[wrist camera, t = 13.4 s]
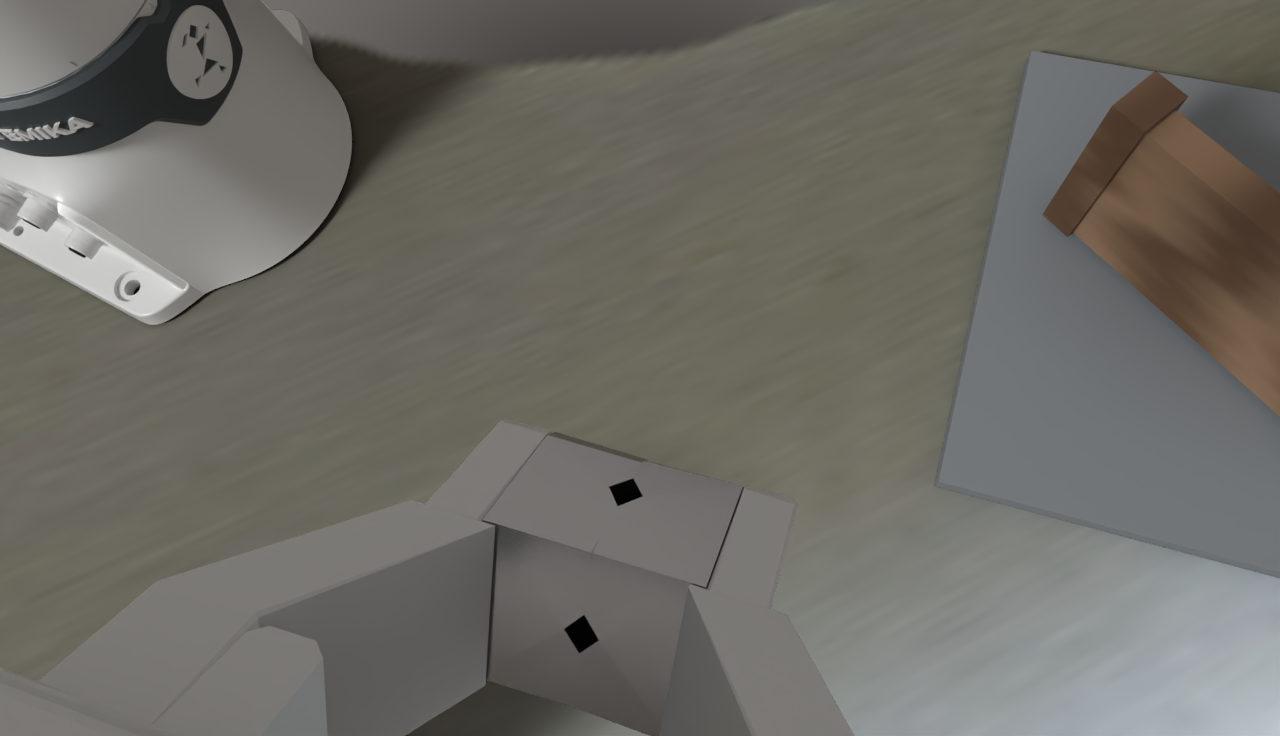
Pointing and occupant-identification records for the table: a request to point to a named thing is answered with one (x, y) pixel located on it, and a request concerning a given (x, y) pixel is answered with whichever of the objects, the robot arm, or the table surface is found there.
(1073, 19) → the table surface
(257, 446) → the table surface
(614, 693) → the robot arm
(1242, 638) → the table surface
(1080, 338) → the grey plate
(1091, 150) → the gate leaf
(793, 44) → the table surface
